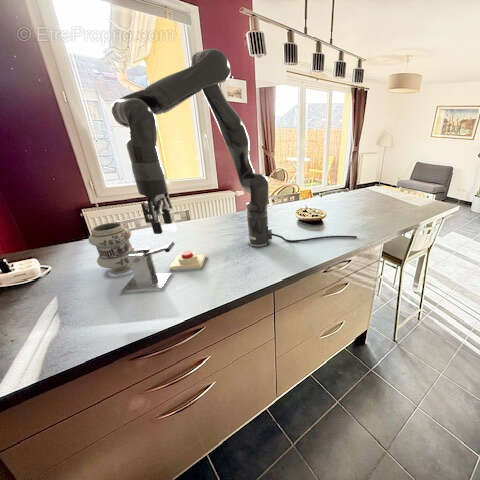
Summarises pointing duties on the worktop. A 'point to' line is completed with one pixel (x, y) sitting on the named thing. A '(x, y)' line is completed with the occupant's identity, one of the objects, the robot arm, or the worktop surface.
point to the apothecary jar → (112, 246)
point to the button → (187, 254)
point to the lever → (158, 250)
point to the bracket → (144, 272)
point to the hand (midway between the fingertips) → (163, 228)
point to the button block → (188, 261)
